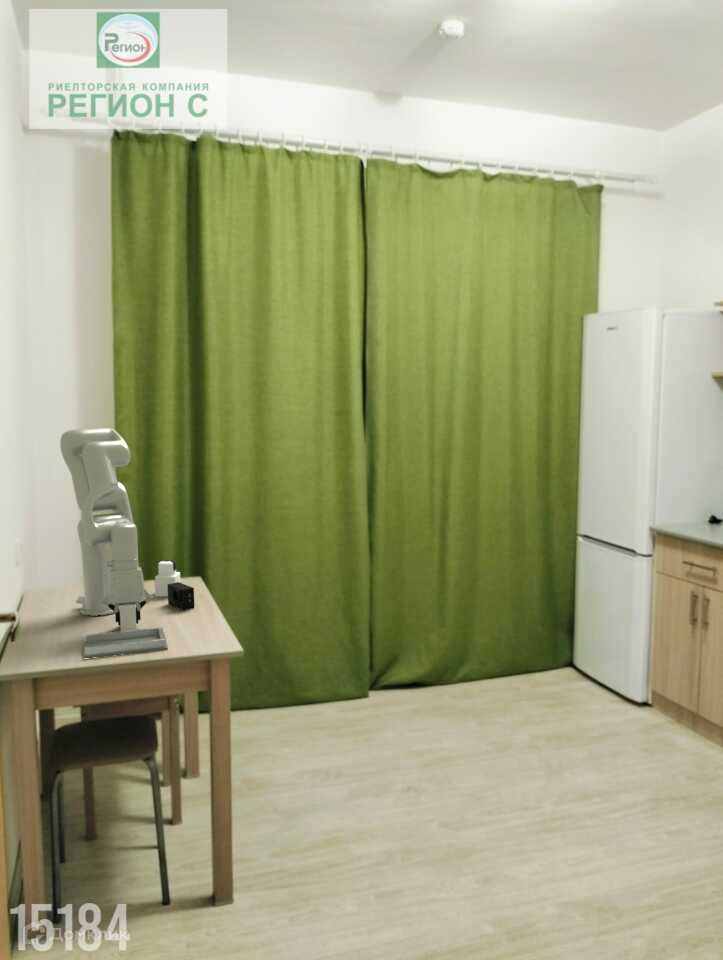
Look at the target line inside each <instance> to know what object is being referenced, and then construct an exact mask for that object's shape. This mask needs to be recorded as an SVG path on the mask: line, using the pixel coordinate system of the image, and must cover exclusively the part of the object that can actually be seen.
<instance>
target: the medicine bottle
mask: <svg viewBox="0 0 723 960" xmlns="http://www.w3.org/2000/svg"><path fill="white" fill-rule="evenodd" d="M157 565H158V566H157V568H158V574H157V575H155V577H154V590H155V597H157V598H158V597H159V598H160V597H161V598H162V597H163V598H165V597H166V598H168V584H172V583H177V582H179V583H182V581H181V572H180V571H177V562H176V561H175V560H173V559H164V560H160V561H159V562H158V564H157Z"/></svg>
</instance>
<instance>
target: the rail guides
mask: <svg viewBox="0 0 723 960" xmlns="http://www.w3.org/2000/svg"><path fill="white" fill-rule="evenodd" d="M164 634H165V632H164V628H163V626H157V627H146V628H139V629H138V628H137V629H136V630H127V631H121V630H120V631H119V630H118V631H111V632H109V631H108V632H102V633H100V632H99V633H91V634H85V641H86V643H91V642H100V641H109V640H118V639H127V638H136V637H145V636H155V635H159V639H156V640H147V641H139V642H130V643H121V644H112V645H103V646H94V647H85V656H90V655H99V654H108V653H116V652H125V651H134V650H142V649H151V648H160V647H166V645H165V638H166V635H165V636H164Z"/></svg>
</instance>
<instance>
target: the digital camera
mask: <svg viewBox="0 0 723 960" xmlns="http://www.w3.org/2000/svg"><path fill="white" fill-rule="evenodd" d="M167 600H168V602H167V603H168V605H169V604H170V606H172V607H174V608H176V607H177V609H178V608H179V610H181V609H182V611H186V609H188V610H191V609H190V608H192V609H195V608H194V607H195V588H194V587H192V586H190V585H188V584H184V583H182V582H181V583H179V582H177V583H172V584H168V597H167Z"/></svg>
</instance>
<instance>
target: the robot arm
mask: <svg viewBox="0 0 723 960" xmlns="http://www.w3.org/2000/svg"><path fill="white" fill-rule="evenodd" d="M60 436H61V437H60V440H59V441H60V442H59V445H60V446H59V447H60V451H61V455H62V458H63V460H64V463H65V464H66V466H67V468H68V470H69V473H70V474H71V479H72V485H73V490H74V494H75V499H76V503H77V507H78V509H79V510H80V512H81V516H80V517H81V518H80V520H79V521H78V524H77V534H78V539H79V543H80V548H81V557H82V573H83V574H82V575H83V577H82V578H83V589H84V590H83V591H84V595H79V596H78V597H77V598H76V601H75V603H76V604H79V605H80V604H82V605H81V606H82V607H80V610H79V611H80V614H82V615H84V616H87V615H90V616H89V617H93V616H94V617H98V615H101V616H106V615H107V614H108V615H112V614H115V616H114V618H115V623H117V624H118V625H117V626H120V627H121V625H120V604H122V603H133V602H135V606H136V625H137V624H138V625H139V621H141V610H142V609H143V608H144V606H146V604H148V603H149V602H150V601H151V600H152V599H153V598H152V595H151V594H150V593H149V592H148V591H147V589H146V588H145V582H144V573H143V570H142V567H141V566H139V548H138V547H139V545H138V528H137V526H136V524H135V523H134V517H133V513H132V508H131V505H130V504H131V503H130V499H129V495H128V491H127V489H126V487H125V485H124V484H123V483H121V482H120V481H118V478H117V474H116V473H117V472H116V469H115V468H116V467H119V468H120V467H126V466H128V465H129V464H130V462H131V451H130V447H129V446H128V444H127V442H126V441H125V439H124V438H123V437H122V436H121V435H120V433H118V431H116V430H115V429H114V428H111V427H98V428H97V427H94V428H90V427H89V428H77V429H76V428H75V429H74V428H73V429H71V430H67V431H65V432H63V433H62V434H61V435H60ZM108 511H109V512H110V511H112V513H101V514H93V513H97V512H99V513H100V512H108ZM109 545H110V547H111V549H110V550H109V549H108V548H107V547H106V546H109ZM108 615H107V616H108Z"/></svg>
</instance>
